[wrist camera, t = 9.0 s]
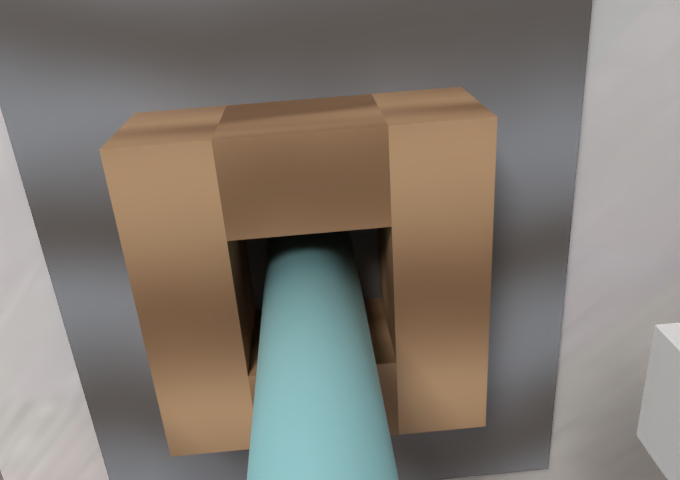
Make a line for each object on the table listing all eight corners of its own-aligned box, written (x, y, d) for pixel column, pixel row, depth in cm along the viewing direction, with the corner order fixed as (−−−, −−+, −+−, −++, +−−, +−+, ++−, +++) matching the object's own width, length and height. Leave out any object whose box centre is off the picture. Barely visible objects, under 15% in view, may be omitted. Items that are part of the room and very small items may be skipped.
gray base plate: (-50, -105, 15) (-158, -121, 12) (596, -150, 16) (687, -180, 12) (122, 498, 24) (90, 599, 20) (542, 456, 24) (586, 548, 21)
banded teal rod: (260, 212, 19) (173, 903, 5) (352, 205, 19) (499, 865, 5) (270, 292, 20) (219, 1030, 6) (356, 284, 20) (488, 996, 6)
